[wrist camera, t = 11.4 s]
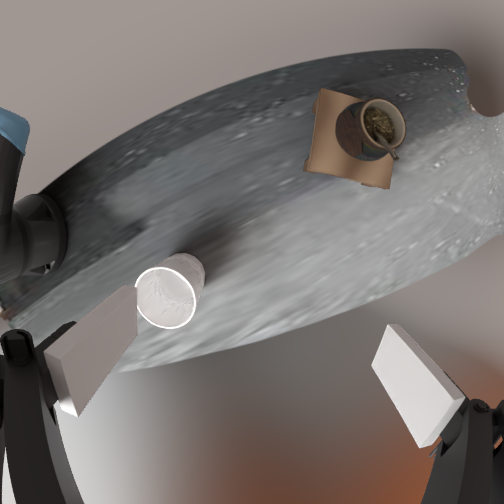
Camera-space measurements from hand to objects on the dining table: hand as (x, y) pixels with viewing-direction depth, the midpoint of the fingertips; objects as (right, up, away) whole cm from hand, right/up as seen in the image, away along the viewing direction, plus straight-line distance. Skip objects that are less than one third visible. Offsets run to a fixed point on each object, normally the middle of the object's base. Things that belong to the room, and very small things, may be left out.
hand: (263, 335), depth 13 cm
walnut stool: (+13, +20, +23) cm, 33 cm away
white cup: (-11, +1, +27) cm, 30 cm away
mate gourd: (+13, +18, +17) cm, 28 cm away
